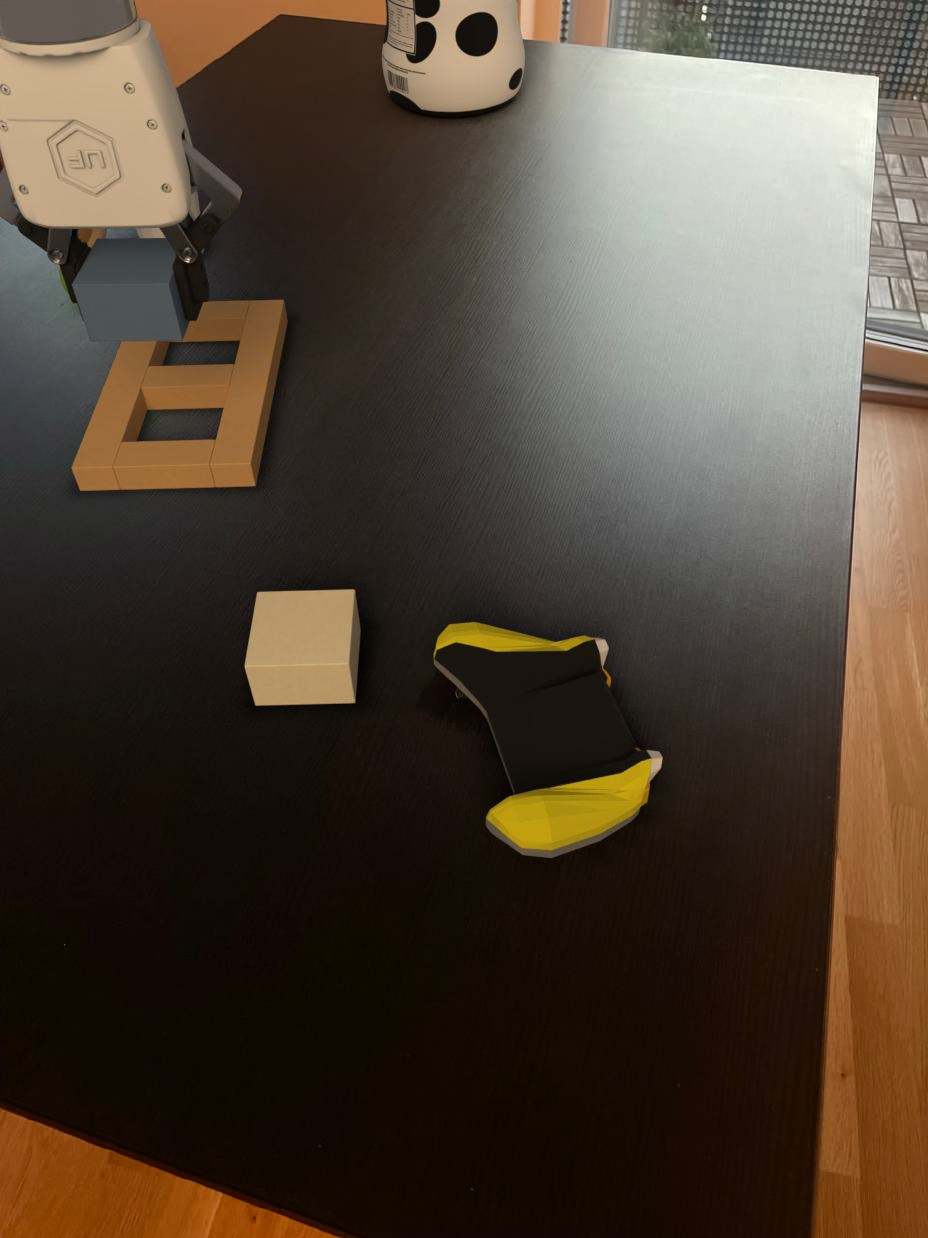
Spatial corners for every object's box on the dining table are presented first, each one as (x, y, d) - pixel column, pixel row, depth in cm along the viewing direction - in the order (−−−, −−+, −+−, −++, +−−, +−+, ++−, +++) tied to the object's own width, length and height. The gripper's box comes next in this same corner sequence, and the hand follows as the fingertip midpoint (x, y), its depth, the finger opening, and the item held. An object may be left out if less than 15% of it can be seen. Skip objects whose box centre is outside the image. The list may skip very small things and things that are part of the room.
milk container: (535, 80, 128) (540, -87, 115) (508, 134, 117) (511, -45, 104) (406, 72, 131) (396, -92, 118) (367, 123, 120) (352, -52, 107)
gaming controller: (496, 895, 51) (677, 848, 53) (497, 840, 47) (693, 791, 49) (428, 677, 61) (582, 644, 63) (424, 617, 57) (588, 582, 59)
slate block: (90, 341, 64) (71, 284, 61) (112, 294, 68) (96, 238, 65) (182, 341, 64) (168, 283, 61) (200, 293, 68) (187, 237, 65)
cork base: (81, 494, 74) (70, 467, 72) (143, 328, 89) (136, 302, 87) (256, 490, 74) (250, 463, 72) (288, 324, 89) (284, 298, 87)
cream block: (256, 709, 60) (244, 666, 57) (267, 635, 64) (257, 591, 61) (356, 706, 60) (349, 663, 57) (361, 632, 64) (355, 588, 61)
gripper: (-131, 27, 50) (-3, 342, 63) (210, 23, 50) (267, 340, 63) (-75, -18, 55) (32, 283, 69) (235, -22, 55) (282, 281, 68)
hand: (144, 308), depth 66 cm, fingers closed on slate block, 6 cm apart
